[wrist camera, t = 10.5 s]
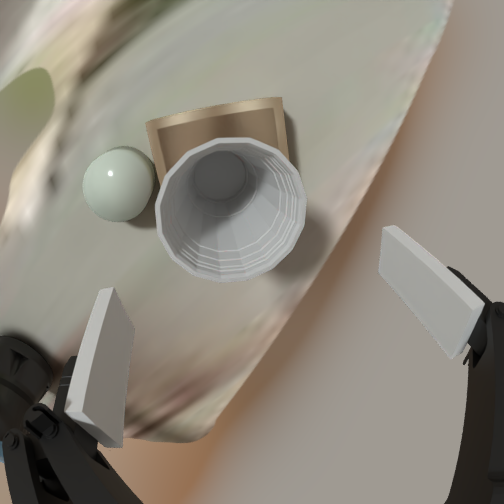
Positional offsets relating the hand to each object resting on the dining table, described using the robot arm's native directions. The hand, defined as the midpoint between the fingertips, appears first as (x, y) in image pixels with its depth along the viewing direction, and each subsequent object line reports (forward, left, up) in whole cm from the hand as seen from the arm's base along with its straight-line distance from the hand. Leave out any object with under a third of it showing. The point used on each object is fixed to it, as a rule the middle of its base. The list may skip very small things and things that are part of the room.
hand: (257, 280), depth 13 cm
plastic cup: (0, 0, -20) cm, 20 cm away
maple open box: (0, 0, -24) cm, 24 cm away
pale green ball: (-12, +1, -24) cm, 26 cm away
